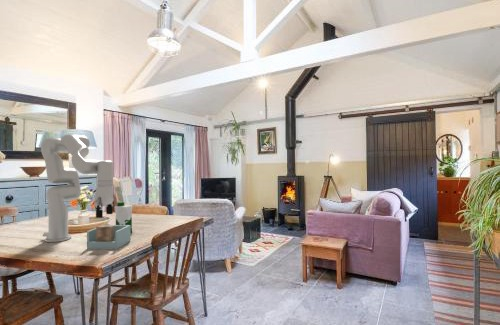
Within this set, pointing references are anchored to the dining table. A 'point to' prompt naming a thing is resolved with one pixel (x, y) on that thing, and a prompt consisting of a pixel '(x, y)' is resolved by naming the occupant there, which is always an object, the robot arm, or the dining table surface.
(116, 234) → the teal open bin
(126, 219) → the milk carton
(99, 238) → the tan upright block
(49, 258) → the dining table surface
